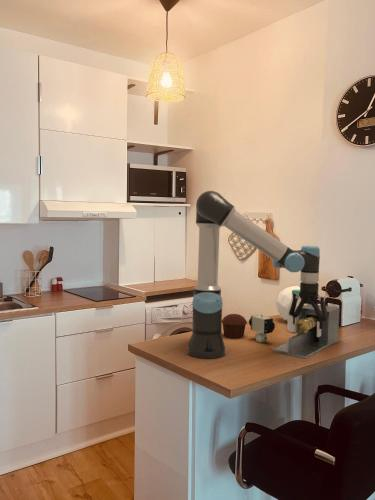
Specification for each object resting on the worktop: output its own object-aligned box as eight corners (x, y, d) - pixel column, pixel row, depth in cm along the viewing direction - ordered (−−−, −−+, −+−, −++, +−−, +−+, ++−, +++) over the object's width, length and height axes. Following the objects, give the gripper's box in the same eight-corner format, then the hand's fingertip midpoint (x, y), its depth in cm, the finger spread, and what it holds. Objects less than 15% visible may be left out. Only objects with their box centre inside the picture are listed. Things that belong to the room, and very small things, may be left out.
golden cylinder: (296, 331, 186) (296, 318, 186) (311, 325, 198) (311, 312, 198) (309, 334, 183) (309, 320, 182) (323, 327, 194) (324, 314, 194)
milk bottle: (303, 333, 209) (304, 291, 207) (286, 332, 211) (287, 290, 210) (304, 330, 216) (305, 289, 215) (288, 328, 219) (289, 288, 217)
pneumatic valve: (267, 345, 188) (267, 317, 188) (248, 339, 198) (248, 312, 197) (276, 343, 192) (276, 316, 191) (257, 337, 201) (257, 311, 200)
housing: (273, 351, 180) (274, 315, 179) (308, 335, 206) (309, 303, 205) (305, 358, 171) (306, 320, 170) (338, 340, 198) (339, 307, 196)
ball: (298, 337, 228) (296, 311, 216) (269, 317, 242) (267, 291, 229) (322, 316, 235) (322, 290, 223) (293, 298, 249) (292, 272, 236)
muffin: (218, 337, 200) (218, 315, 199) (224, 331, 210) (224, 311, 209) (244, 340, 196) (244, 318, 195) (249, 334, 206) (249, 313, 206)
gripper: (338, 284, 183) (336, 337, 184) (289, 278, 197) (287, 328, 198) (331, 285, 177) (329, 340, 179) (281, 280, 191) (280, 331, 193)
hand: (307, 334), depth 188 cm, fingers open, 9 cm apart
